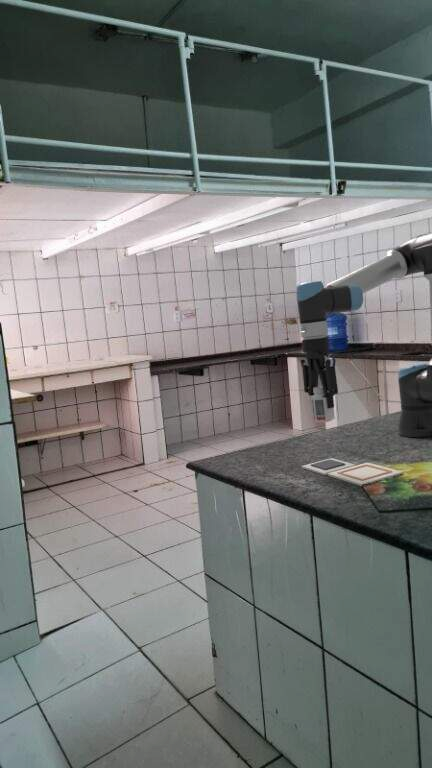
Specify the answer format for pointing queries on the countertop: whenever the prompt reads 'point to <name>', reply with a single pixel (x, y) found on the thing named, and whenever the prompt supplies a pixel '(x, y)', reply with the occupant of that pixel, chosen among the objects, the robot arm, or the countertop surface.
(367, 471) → the print card
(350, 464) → the ink pad
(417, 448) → the countertop surface
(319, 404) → the pill bottle
